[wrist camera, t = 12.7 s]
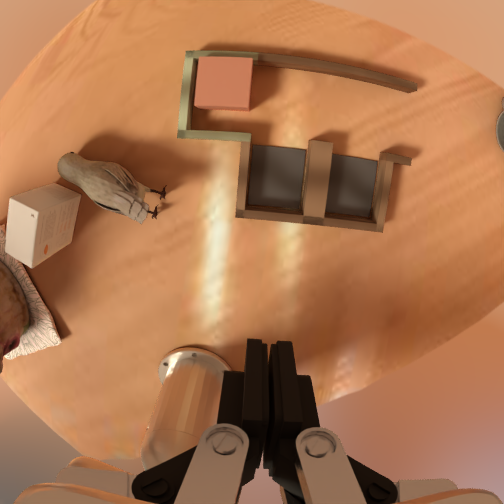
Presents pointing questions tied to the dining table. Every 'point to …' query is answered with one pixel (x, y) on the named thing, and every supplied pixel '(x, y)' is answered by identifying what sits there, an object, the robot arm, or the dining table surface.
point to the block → (224, 83)
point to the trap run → (302, 158)
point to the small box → (40, 223)
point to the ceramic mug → (500, 128)
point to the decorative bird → (108, 185)
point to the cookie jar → (21, 310)
